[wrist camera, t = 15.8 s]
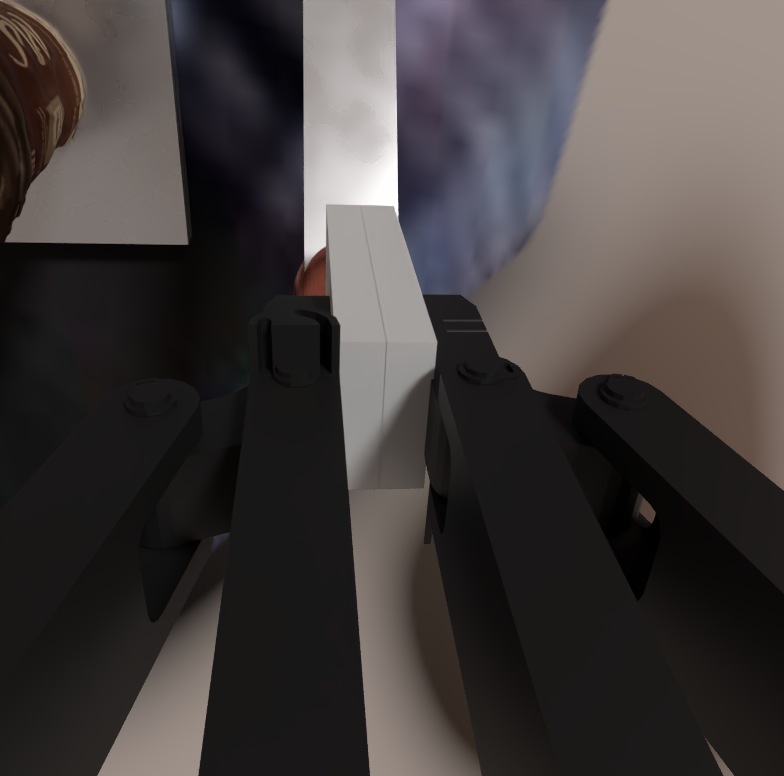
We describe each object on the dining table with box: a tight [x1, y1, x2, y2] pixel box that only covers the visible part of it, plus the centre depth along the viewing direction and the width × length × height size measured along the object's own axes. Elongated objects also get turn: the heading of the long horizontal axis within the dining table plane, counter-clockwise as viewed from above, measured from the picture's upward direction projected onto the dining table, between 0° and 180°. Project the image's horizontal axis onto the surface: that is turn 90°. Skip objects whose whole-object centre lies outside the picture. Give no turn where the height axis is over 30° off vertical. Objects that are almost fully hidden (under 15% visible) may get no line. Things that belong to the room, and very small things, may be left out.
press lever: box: [293, 0, 398, 296], centre depth 20 cm, size 15×4×3 cm
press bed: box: [0, 0, 192, 245], centre depth 33 cm, size 14×14×2 cm
